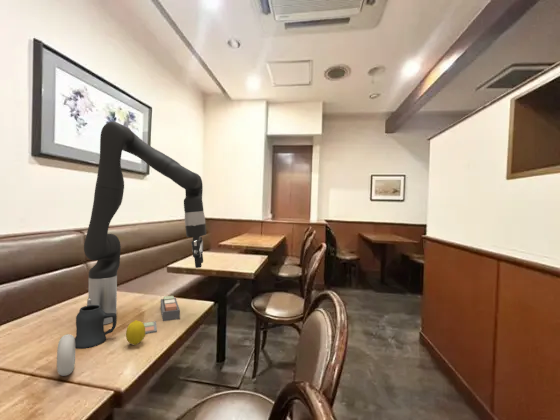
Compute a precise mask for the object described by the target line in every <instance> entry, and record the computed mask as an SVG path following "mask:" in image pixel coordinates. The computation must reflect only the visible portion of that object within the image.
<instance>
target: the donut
mask: <svg viewBox="0 0 560 420" xmlns="http://www.w3.org/2000/svg"><path fill="white" fill-rule="evenodd" d="M56 352H57V354H56V371H57V373H58V375H59V376H62V377H66V376H69V375H70V374H72V373H73V371H74V370H75V364H76V348H75V336H74V335H72V334H71V333H69V334H64V335H63V336H61V337H60V339H59V341H58V344H57V350H56Z"/></svg>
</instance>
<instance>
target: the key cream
mask: <svg viewBox="0 0 560 420" xmlns="http://www.w3.org/2000/svg"><path fill="white" fill-rule="evenodd" d="M173 303H175V300H174V299H172V300H164V307H165V304H173Z"/></svg>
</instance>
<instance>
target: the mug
mask: <svg viewBox="0 0 560 420" xmlns="http://www.w3.org/2000/svg"><path fill="white" fill-rule="evenodd" d="M116 313H117V312H116ZM116 313H106V312H105V311H103V310H102V309H101V306H100V305H88V306H87V305H84V306H81V307H80V309H79V312H78V313H77V314H76V316H75V327H76V328H75V330H76V331H75V333H76V334H75V336H74V338H75V350H76V349H77V350H84V349H85V350H86V349H91V348H95V347H98V346H99V345H103V344H104V342H106V341H107V336H106V335H108V334H112V333H113V331H114V330H115V328H117V327H116V326H117V320H118V319H117V317H118V316H117V314H116ZM109 317H112V318H113V322H112V325H111V328H110V329H107V330H106V331H105V326H104V325H105V324H104V325H103V322H104V319H105V318H109Z"/></svg>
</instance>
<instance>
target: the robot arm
mask: <svg viewBox="0 0 560 420" xmlns="http://www.w3.org/2000/svg"><path fill="white" fill-rule="evenodd" d="M99 140H100V141H99V160H98V161H99V162H98V168H97V175H96V176H97V177H96V182H95V187H94V194H93V197H94V198H93V204H92V209H91V214H90V221H89V224H88V228H87V232H86V235H85V239H84V242H83V252H84V255H85V256H86V258H88V259H89V260H91V261H96V262H95V264H94V265H93V266H92V267H91V268H90V269H89V271H88V298H87V300H86V306H88V305H100V306H101V309H102V310H103V311H105V312H106V313H116V314H117V303H118V302H117V300H118V298H117V297H118V296H117V295H118V293H117V291H118V270H119V268H120V263H121V261H120V260H121V252H122V251H121V246H122V245H121V241H120V239H119V237H118V236H117V235H115V234H113V233H109V228H110V224H111V222H112V219H113V217H114V216H115V214H116V213H117V212H118V210H119V209H120V206H121V205H122V203H123V198H124V197H123V196H124V191H125V180H124V176H123V172H122V171H123V170H122V165H121V159H122V153H123V152H127V153H129V154H131V155H133V156H135V157H137V158H139V159H141V161H143V162H144V163H146V164H147V165H148V166H149V167H151V168H152V169H153V170H154V171H157V172H158V173H160V174H161V175H163V176H165V177H166V178H168V179H170V180H171V181H172V182H174V183H175V184H176V185H178V186H179V187H181V188H182V189H184V190H185V197H184V199H183V210H184V227H185V236H186V237H187V238H192V240H191V251H192V258H193V259H194V265H195V266H194V267H195V268H196V269H199V268H202V264H203V263H204V255H203V253H204V240H203V236H205V235H207V226H206V217H205V212H204V203H203V187H204V186H203V180H202V177H201V176H200V175H199V174H198V173H196V172H194V171H191V170H190V169H188V168H186V167H185V166H182V165H181V163H179V162H178V161H176V160H175V159H173V158H172V157H170V156H169V155H167V154H165V153H163V152H161V151H160V150H158V149H156V148H154V147H153V146H151V145H149V144H147V142H145V141H144V140H142V138H140V137H139V136H138V135H137V134H136V133H135V132H133V130H131V129H130V128H129V127H127V126H125V125H123V124H121V123H119V122H116V121H109V122H106V124H104V125H103V127H102V129H101V132H100V139H99ZM111 323H113V318H112V317H109V318H105V319H104V322H103V325H108V324H111Z"/></svg>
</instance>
